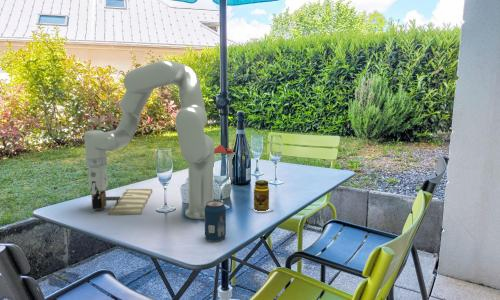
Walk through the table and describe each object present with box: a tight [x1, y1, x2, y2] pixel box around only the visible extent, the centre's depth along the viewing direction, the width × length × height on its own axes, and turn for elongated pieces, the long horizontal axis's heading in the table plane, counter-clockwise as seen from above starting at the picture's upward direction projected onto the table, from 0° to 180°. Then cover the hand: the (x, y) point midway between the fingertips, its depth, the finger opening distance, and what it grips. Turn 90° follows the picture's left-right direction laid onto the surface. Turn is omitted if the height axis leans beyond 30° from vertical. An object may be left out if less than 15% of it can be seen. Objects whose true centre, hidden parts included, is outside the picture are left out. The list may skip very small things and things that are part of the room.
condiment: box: [253, 179, 270, 211], centre depth 149 cm, size 7×8×12 cm
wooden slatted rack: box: [108, 188, 153, 216], centre depth 157 cm, size 30×12×2 cm, turn 6°
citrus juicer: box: [214, 144, 236, 183], centre depth 187 cm, size 16×17×20 cm
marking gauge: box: [91, 190, 121, 210], centre depth 148 cm, size 5×10×6 cm, turn 96°
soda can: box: [204, 200, 227, 242], centre depth 121 cm, size 7×7×12 cm
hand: (99, 205), depth 148 cm, fingers closed on marking gauge, 4 cm apart
